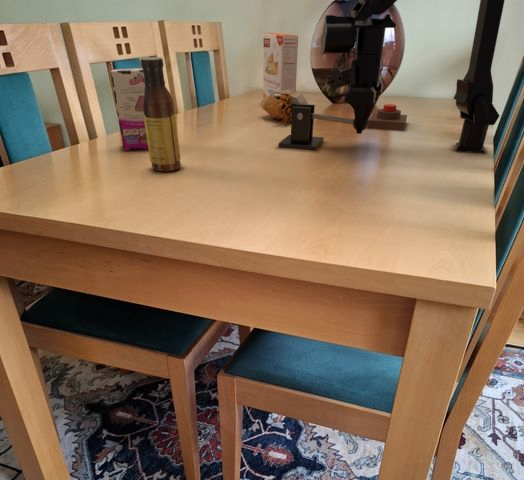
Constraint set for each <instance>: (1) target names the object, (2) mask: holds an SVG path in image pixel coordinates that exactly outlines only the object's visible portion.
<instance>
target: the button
mask: <svg viewBox="0 0 524 480" xmlns="http://www.w3.org/2000/svg"><path fill="white" fill-rule="evenodd" d="M382 109H383V111H385V112H396V109H397V105H396V104H391V103H388V104H386V103H385V104H383V108H382Z"/></svg>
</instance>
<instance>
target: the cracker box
mask: <svg viewBox="0 0 524 480" xmlns="http://www.w3.org/2000/svg"><path fill="white" fill-rule="evenodd" d="M298 44H299V35H297V34H289V33H281V32H265V33H263V49H262V50H263V57H262V59H263V60H262V61H263V68H262V69H263V71H262V72H263V73H262V76H263V77H262V79H263V81H262V83H263V85H262V88H263V91H262V92H263V93H262V96H263V97H262V100H263V99H264V98H265V97H267V96H268V95H270V94H272V93H274V92H279V91H283V90H287V89H288V90H291V91H293V92H297V71H298V70H297V66H298V47H299V46H298Z"/></svg>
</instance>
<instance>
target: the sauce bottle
mask: <svg viewBox="0 0 524 480" xmlns="http://www.w3.org/2000/svg"><path fill="white" fill-rule="evenodd" d="M140 66H141V67H140V68H142V69H143V73H144V80H145V82H144V83H145V91H144V101H143V107H142V111H143V117H144V123H145V129H146V136H147V142H148V149H147V150H148V154H149V160H150V163H151V167H152V169H153V170H155V171H157V172H162V173H167V172H168V173H169V172H173V171H177V170H179V169H180V168H181V151H180V144H179V134H178V127H177V119H176V118H177V117H176V112H175V106H174V100H173V97H172V95H171V93H170V91H169V90H168V88H167V87H166V80H165V74H164V59H163V57H160V56H147V57H142V58H140Z"/></svg>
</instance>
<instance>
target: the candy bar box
mask: <svg viewBox="0 0 524 480" xmlns="http://www.w3.org/2000/svg"><path fill="white" fill-rule="evenodd" d="M109 71H110V73H109V74H110V80H111V86H112V91H113V97H114V103H115V109H116V113H117V119H118V125H119V131H120V137H121V143H122V149H123V151H125V152H127V151H128V152H129V151H144V150H149V149H148V142H147V136H146V129H145V123H144V117H143V111H142V107H143V101H144V91H145V83H144V82H145V80H144V73H143V69H142V67H137V68H136V67H135V68H133V67H132V68H112V69H110V70H109Z"/></svg>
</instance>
